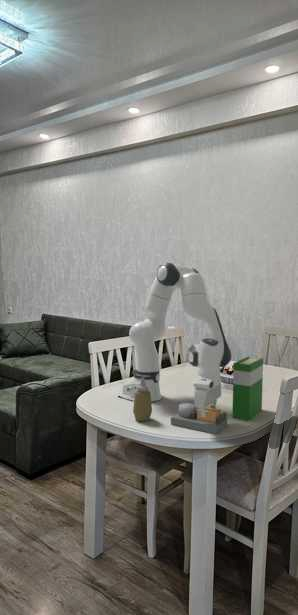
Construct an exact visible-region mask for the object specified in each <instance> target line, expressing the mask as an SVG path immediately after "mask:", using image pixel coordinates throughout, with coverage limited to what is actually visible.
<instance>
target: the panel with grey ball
mask: <svg viewBox="0 0 298 615" xmlns="http://www.w3.org/2000/svg"><path fill="white" fill-rule="evenodd" d="M196 408H197V407H196V406H195V403H194V404H193V403H188V402H187V403H186V402H183V403H180V404H179V405H178V412H177V413H176V414H174V415H173V416H171V417H170V425H172V426H176V427H180V428H186V429H189V430H195V431H199V432H203V431H204V432H203V433H208V432H209V434H213V433H214V435H219V433H220V432H221V431H222V430H224V429H225V428H226V427H227V426H228V418H229V417H227V412H223V413H222V414H221V413H220V416H219V417H218V418H217V422H216V423H213V422H208V421H203V420H198V419H197V409H200V408H197V409H196ZM225 426H226V427H225Z"/></svg>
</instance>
